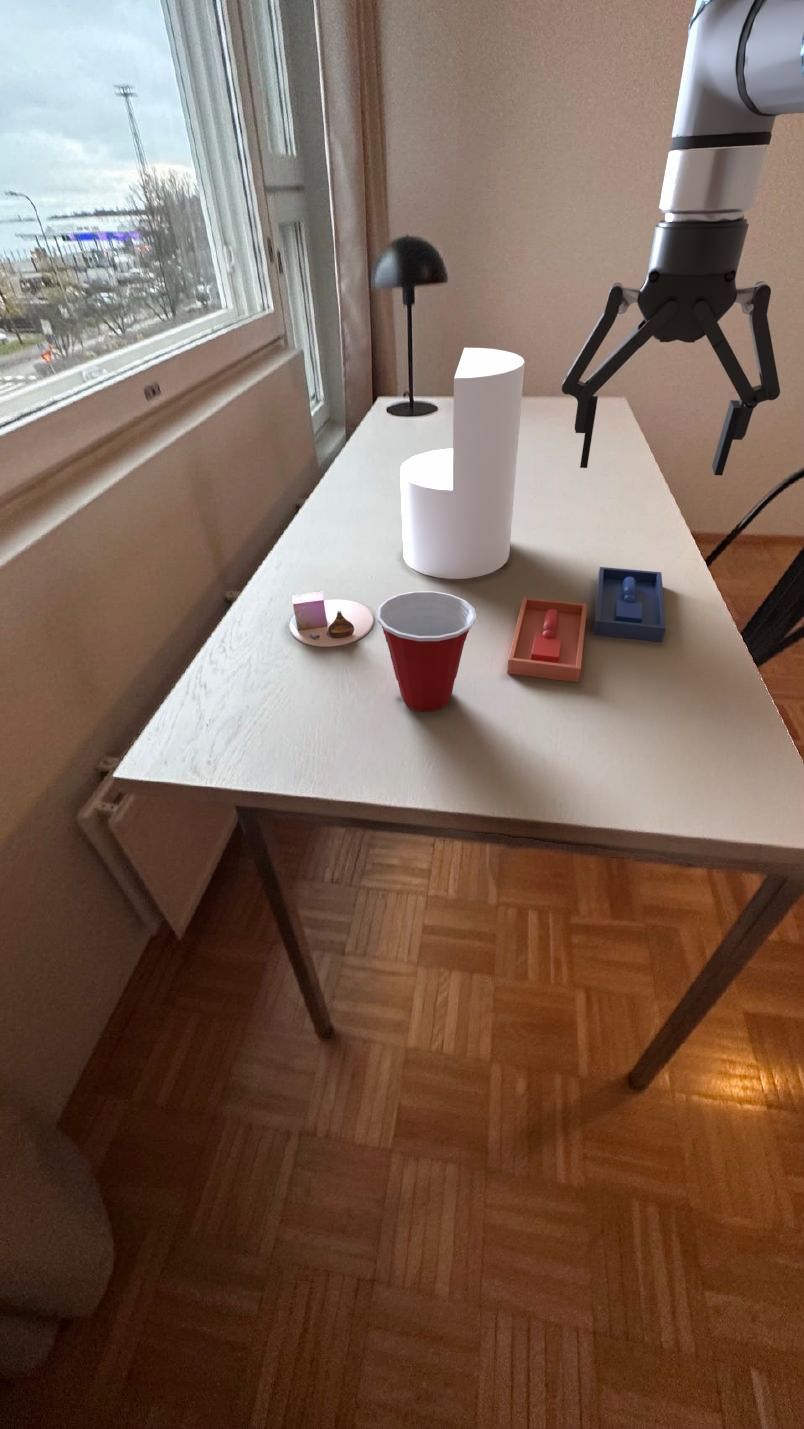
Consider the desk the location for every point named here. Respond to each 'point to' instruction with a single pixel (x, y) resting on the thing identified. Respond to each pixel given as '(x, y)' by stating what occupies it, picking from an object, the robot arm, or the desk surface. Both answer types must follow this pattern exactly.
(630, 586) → the blue stamp
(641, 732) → the desk surface
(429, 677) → the plastic cup
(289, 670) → the desk surface
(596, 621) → the blue tray
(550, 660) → the red rubber stamp
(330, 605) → the round pink plate
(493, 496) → the cylinder
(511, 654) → the terracotta tray
